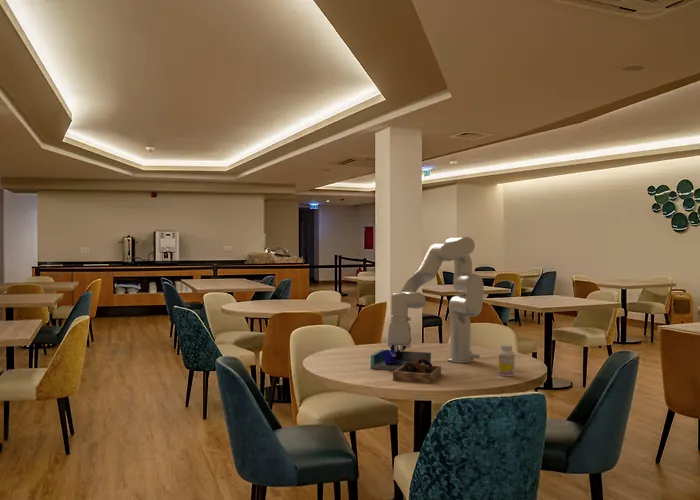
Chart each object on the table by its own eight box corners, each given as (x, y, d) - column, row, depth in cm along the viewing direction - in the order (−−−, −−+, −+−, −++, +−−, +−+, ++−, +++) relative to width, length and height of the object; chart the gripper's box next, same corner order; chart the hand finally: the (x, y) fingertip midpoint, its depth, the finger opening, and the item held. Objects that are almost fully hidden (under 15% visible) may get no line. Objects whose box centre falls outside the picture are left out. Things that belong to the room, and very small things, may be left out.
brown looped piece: (424, 373, 267) (431, 358, 264) (429, 387, 259) (436, 372, 255) (399, 368, 264) (406, 352, 261) (403, 382, 256) (410, 366, 252)
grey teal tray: (431, 365, 283) (431, 352, 283) (423, 372, 267) (423, 358, 267) (381, 362, 291) (381, 349, 291) (370, 368, 275) (370, 355, 275)
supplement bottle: (502, 373, 266) (502, 343, 266) (517, 375, 262) (517, 345, 262) (495, 375, 261) (496, 345, 261) (510, 377, 257) (510, 347, 257)
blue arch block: (392, 358, 286) (388, 346, 286) (401, 356, 284) (396, 344, 284) (382, 365, 275) (378, 352, 276) (391, 362, 273) (386, 350, 274)
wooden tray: (441, 374, 263) (441, 366, 263) (432, 383, 246) (432, 374, 246) (404, 371, 269) (404, 363, 269) (393, 380, 251) (393, 371, 251)
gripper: (417, 319, 280) (416, 359, 280) (385, 318, 284) (385, 357, 284) (413, 321, 272) (413, 362, 272) (381, 319, 277) (381, 360, 277)
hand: (399, 359), depth 278 cm, fingers closed
